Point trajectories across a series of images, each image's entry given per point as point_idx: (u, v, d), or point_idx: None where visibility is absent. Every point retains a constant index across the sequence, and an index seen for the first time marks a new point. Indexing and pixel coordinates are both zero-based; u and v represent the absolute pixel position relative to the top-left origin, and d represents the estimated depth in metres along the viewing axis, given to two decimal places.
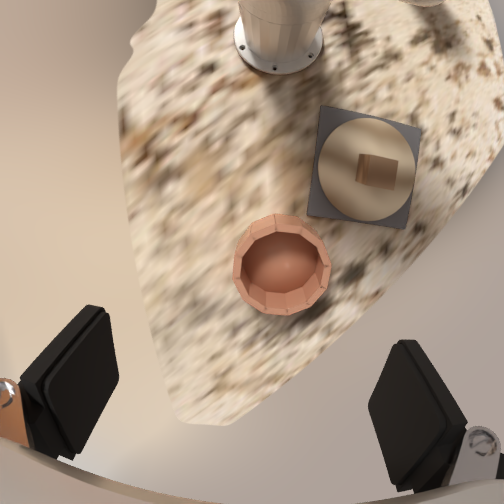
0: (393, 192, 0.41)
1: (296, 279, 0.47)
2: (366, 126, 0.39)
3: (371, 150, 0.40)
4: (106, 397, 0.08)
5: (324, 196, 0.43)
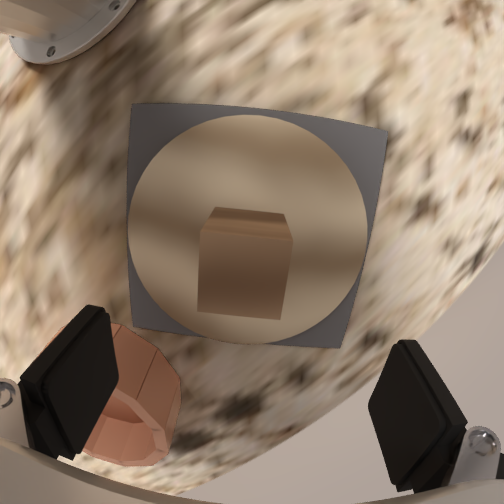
0: (308, 288, 0.20)
1: None
2: (233, 136, 0.16)
3: (247, 197, 0.18)
4: (106, 397, 0.08)
5: None
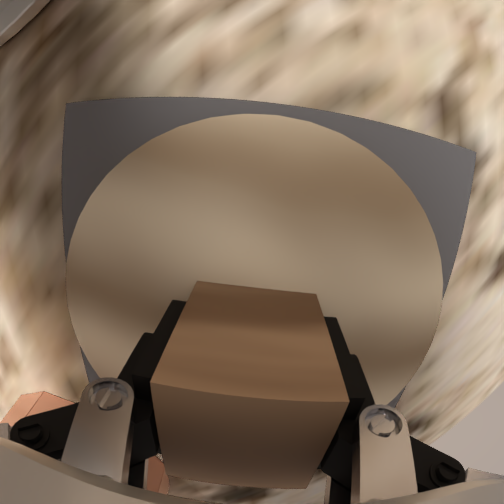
0: None
1: None
2: (227, 155, 0.09)
3: (253, 266, 0.10)
4: None
5: None
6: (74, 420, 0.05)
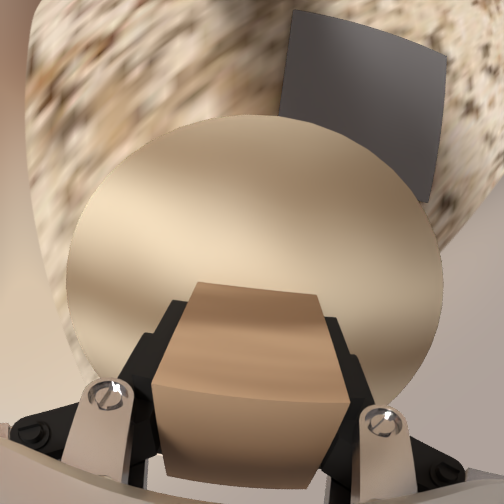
0: None
1: None
2: (228, 156, 0.09)
3: (254, 267, 0.10)
4: None
5: None
6: (74, 420, 0.05)
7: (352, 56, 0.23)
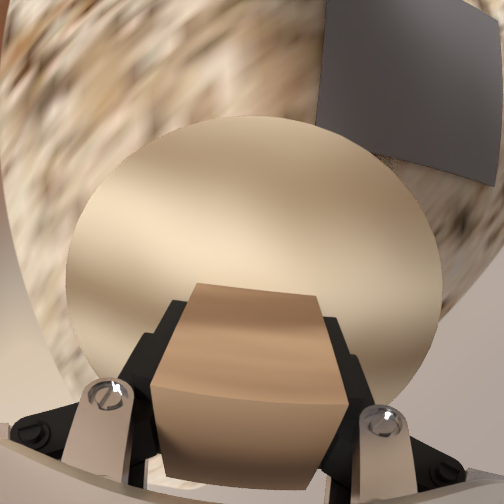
0: None
1: None
2: (227, 157, 0.09)
3: (253, 268, 0.10)
4: None
5: (350, 104, 0.18)
6: (74, 420, 0.05)
7: (403, 8, 0.15)
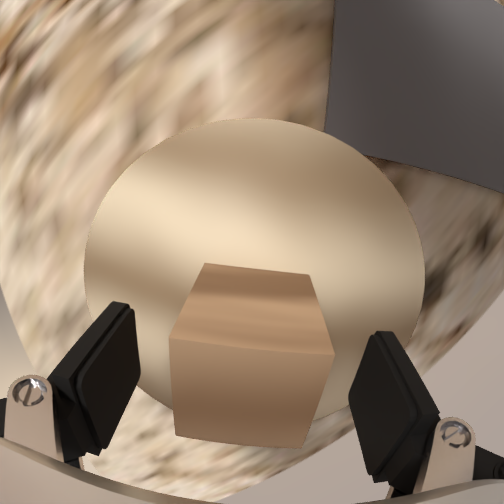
0: (337, 369, 0.13)
1: None
2: (232, 153, 0.10)
3: (254, 250, 0.12)
4: (130, 392, 0.09)
5: (364, 103, 0.15)
6: (6, 420, 0.04)
7: None
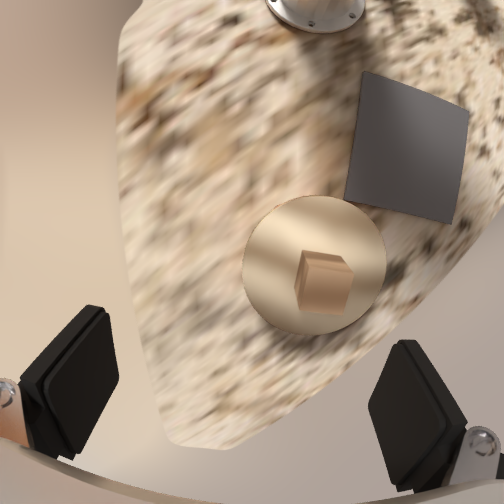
0: (349, 300, 0.31)
1: None
2: (316, 209, 0.29)
3: (321, 245, 0.30)
4: (106, 397, 0.08)
5: (365, 178, 0.34)
6: None
7: (404, 113, 0.31)
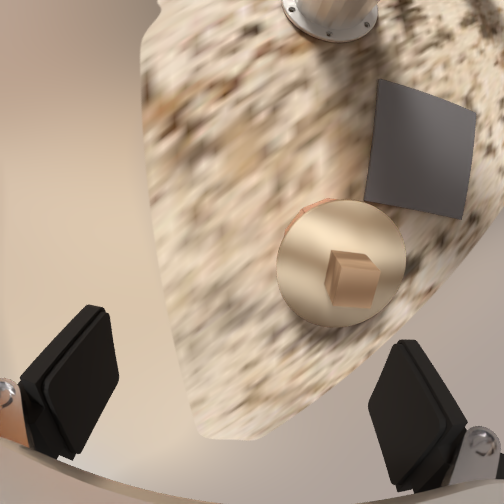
0: None
1: None
2: (343, 212, 0.31)
3: (348, 245, 0.32)
4: (106, 397, 0.08)
5: (383, 179, 0.36)
6: None
7: (417, 117, 0.33)
